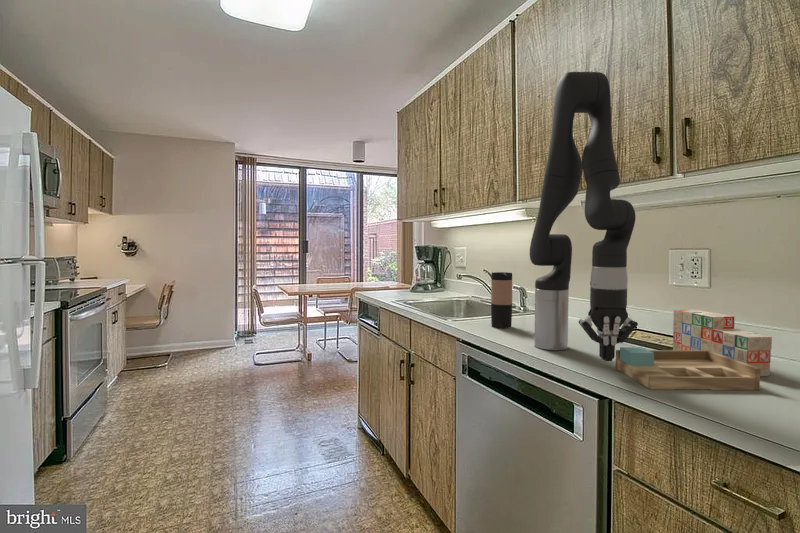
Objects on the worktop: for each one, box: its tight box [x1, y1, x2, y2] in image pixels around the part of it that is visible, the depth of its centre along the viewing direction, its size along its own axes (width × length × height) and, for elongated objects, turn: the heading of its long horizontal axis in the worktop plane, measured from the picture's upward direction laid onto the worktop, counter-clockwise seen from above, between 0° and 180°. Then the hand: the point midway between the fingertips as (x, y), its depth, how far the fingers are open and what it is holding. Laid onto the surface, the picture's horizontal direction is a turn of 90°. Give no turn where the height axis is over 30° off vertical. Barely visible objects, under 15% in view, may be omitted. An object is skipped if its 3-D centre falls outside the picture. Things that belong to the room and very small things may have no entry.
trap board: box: [615, 349, 761, 391], centre depth 87 cm, size 14×22×4 cm, turn 88°
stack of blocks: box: [672, 308, 773, 377], centre depth 99 cm, size 21×6×12 cm, turn 5°
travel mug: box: [490, 271, 513, 329], centre depth 144 cm, size 8×8×20 cm
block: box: [619, 346, 654, 366], centre depth 91 cm, size 5×5×3 cm
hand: (606, 360), depth 91 cm, fingers closed
